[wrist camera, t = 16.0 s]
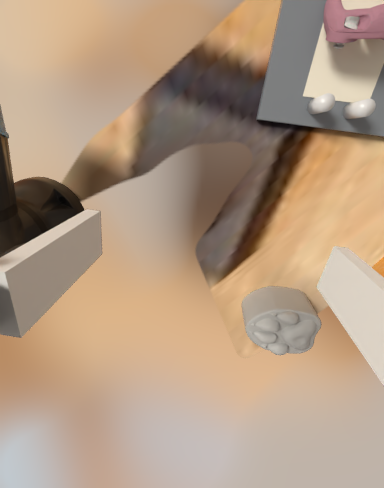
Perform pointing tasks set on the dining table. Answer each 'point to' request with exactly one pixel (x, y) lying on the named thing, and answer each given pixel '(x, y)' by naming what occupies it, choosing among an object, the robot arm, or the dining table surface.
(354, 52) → the docking tray
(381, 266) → the small box
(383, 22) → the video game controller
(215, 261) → the dining table surface
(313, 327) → the lumpy-topped squat cylinder
